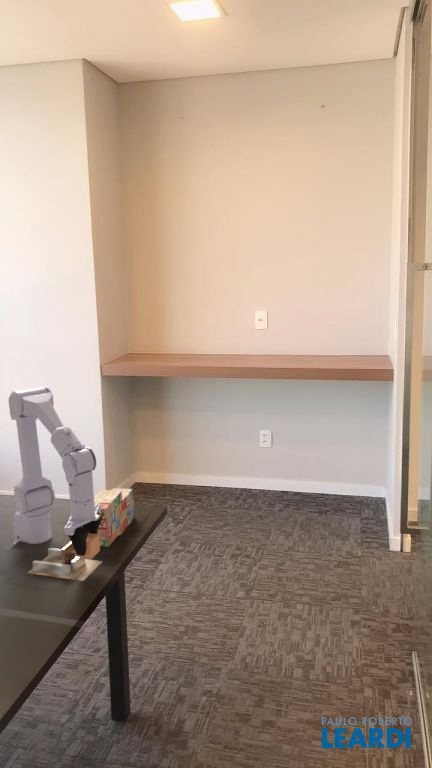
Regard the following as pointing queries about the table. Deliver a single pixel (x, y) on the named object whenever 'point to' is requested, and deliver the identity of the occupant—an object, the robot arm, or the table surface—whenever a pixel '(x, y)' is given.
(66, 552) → the sliding carriage
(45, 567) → the channel deck
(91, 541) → the terracotta block
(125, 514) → the stack of blocks
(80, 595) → the table surface
